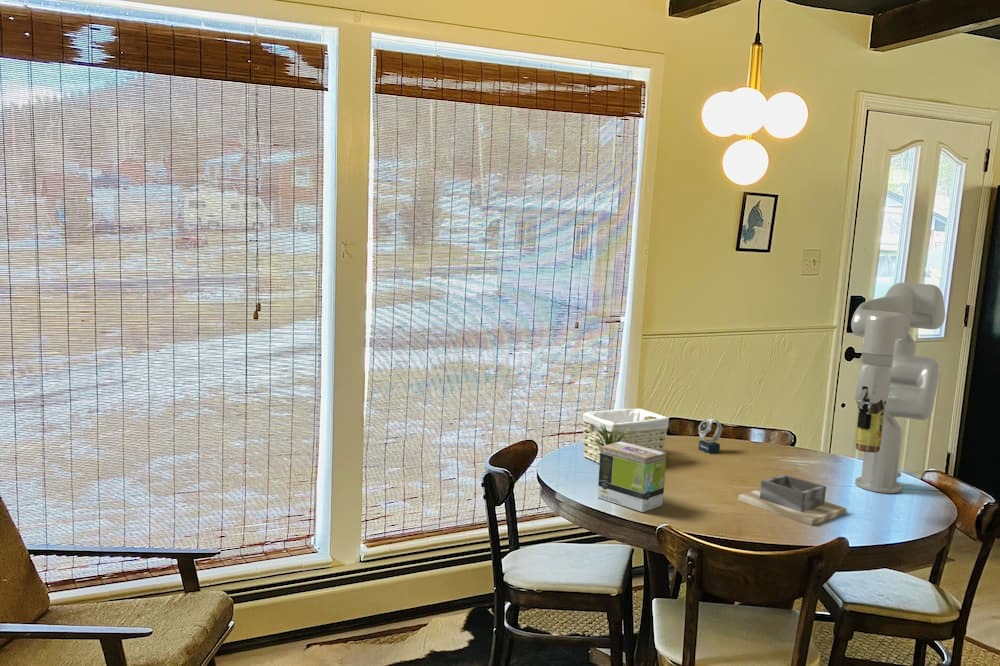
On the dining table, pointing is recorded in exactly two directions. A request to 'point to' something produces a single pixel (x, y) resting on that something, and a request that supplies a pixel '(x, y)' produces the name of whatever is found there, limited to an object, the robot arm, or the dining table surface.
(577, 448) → the dining table surface
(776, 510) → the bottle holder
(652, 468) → the tea box
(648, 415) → the storage basket
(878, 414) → the sauce bottle
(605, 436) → the house plant
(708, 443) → the watch
